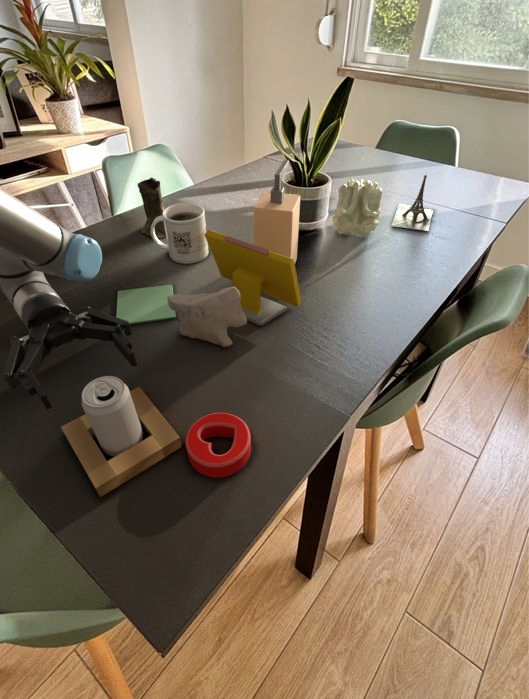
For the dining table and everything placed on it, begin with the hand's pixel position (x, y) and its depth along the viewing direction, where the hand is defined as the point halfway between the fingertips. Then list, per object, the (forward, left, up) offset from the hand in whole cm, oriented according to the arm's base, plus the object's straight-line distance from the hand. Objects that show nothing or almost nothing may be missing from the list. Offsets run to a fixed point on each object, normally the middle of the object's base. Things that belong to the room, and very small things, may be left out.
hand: (92, 380), depth 64 cm
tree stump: (+11, +63, -9) cm, 65 cm away
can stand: (+3, -6, -8) cm, 11 cm away
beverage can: (+3, -6, -9) cm, 11 cm away
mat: (+7, +29, -8) cm, 31 cm away
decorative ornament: (+17, -10, -9) cm, 22 cm away
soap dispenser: (+39, +40, -9) cm, 57 cm away
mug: (+17, +49, -9) cm, 53 cm away
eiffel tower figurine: (+82, +54, -9) cm, 99 cm away
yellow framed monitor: (+29, +23, -9) cm, 38 cm away
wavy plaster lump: (+64, +52, -9) cm, 83 cm away
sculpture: (+19, +14, -9) cm, 25 cm away
